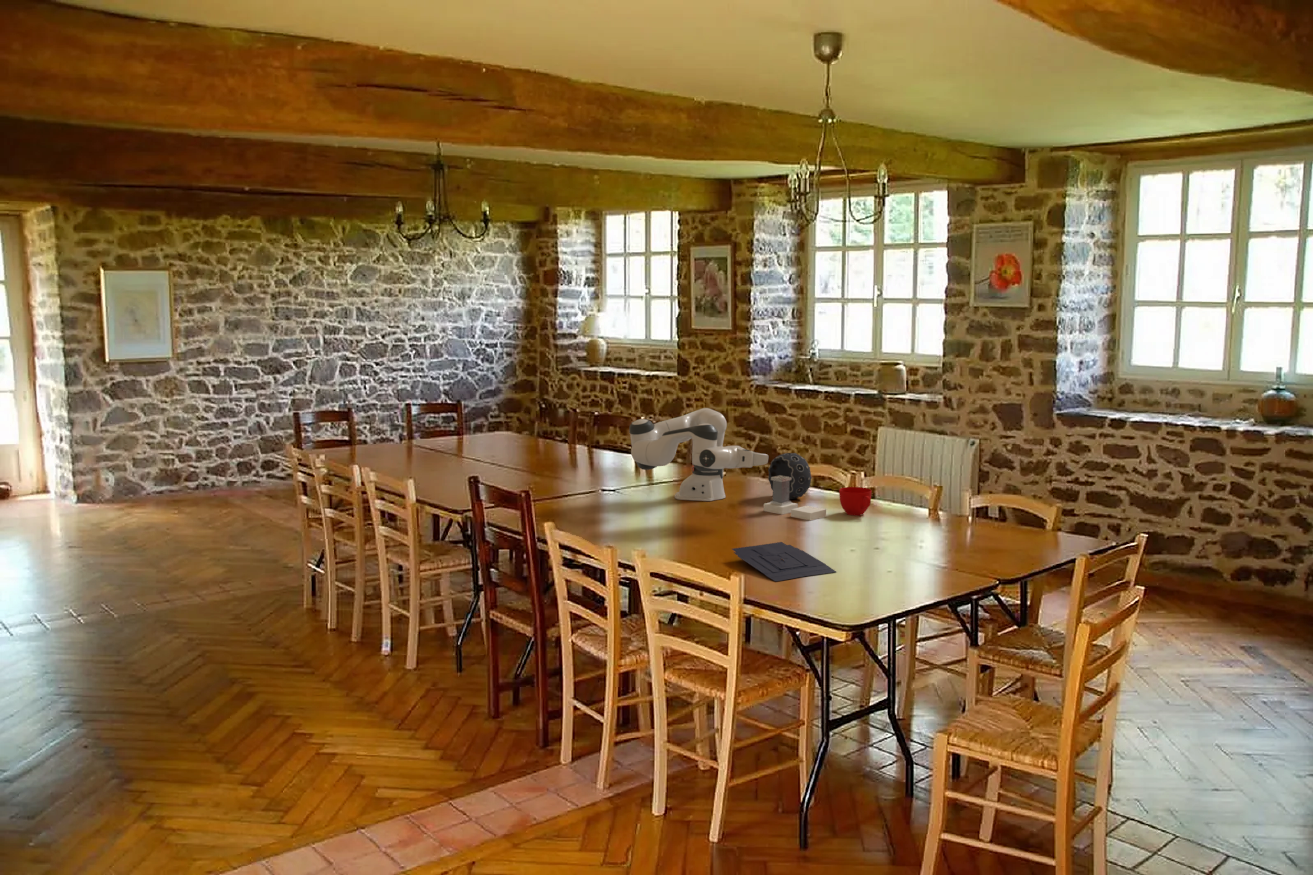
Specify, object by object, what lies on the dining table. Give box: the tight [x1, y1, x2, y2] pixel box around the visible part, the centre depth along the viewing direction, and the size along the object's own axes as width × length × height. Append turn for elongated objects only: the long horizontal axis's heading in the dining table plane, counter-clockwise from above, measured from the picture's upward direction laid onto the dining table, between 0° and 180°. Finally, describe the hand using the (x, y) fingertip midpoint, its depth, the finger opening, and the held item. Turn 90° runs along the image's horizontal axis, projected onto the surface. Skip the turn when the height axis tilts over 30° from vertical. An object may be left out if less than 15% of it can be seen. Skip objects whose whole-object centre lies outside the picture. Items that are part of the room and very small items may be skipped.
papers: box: [731, 541, 837, 582], centre depth 350 cm, size 24×30×4 cm
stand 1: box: [763, 501, 799, 515], centre depth 435 cm, size 10×10×3 cm
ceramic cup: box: [838, 486, 872, 517], centre depth 426 cm, size 13×17×10 cm
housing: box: [770, 475, 792, 506], centre depth 434 cm, size 6×6×11 cm
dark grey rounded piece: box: [767, 452, 812, 500], centre depth 459 cm, size 11×20×20 cm, turn 31°
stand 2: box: [790, 505, 827, 521], centre depth 424 cm, size 10×10×3 cm
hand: (758, 455), depth 423 cm, fingers open, 8 cm apart
